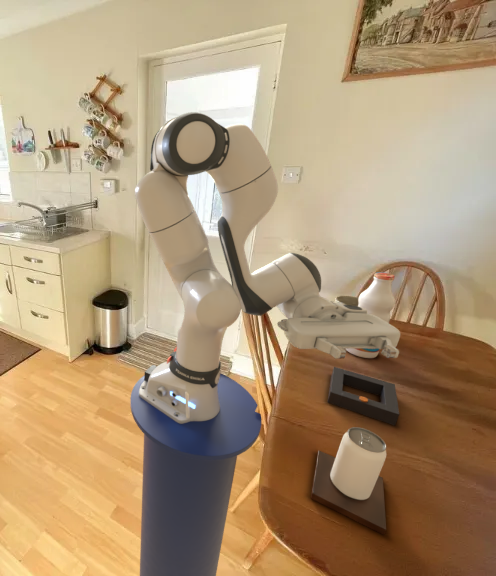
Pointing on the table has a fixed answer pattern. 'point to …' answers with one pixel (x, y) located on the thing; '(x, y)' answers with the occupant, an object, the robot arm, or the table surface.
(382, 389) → the processor base
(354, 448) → the can
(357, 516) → the board
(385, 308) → the fruit juice
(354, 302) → the planter
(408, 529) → the table surface
